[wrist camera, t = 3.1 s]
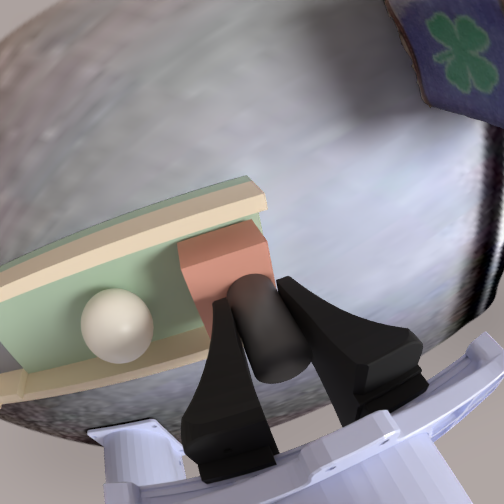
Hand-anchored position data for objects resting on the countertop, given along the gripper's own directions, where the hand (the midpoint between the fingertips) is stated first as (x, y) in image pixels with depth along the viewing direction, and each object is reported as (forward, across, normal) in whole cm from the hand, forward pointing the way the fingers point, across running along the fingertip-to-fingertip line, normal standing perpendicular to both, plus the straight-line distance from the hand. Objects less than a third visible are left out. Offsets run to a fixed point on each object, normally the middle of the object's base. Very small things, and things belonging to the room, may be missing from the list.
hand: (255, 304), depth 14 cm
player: (+3, +1, 0) cm, 3 cm away
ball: (+2, +7, 0) cm, 7 cm away
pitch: (+5, +10, 0) cm, 11 cm away
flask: (+5, -15, -11) cm, 19 cm away
